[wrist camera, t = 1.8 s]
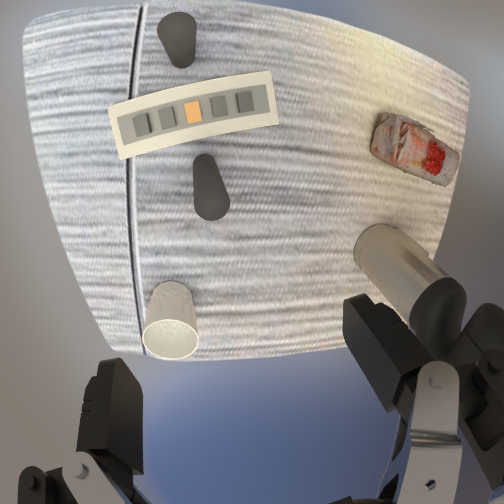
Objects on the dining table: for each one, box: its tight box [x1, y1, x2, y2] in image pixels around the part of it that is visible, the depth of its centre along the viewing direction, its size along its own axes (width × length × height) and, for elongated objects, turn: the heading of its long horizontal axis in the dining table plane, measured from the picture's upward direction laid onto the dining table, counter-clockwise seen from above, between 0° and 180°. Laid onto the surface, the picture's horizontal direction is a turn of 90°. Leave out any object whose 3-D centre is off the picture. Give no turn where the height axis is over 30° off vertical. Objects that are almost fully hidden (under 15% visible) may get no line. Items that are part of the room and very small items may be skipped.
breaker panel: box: [107, 71, 279, 160], centre depth 32 cm, size 20×7×5 cm, turn 99°
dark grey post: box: [157, 12, 197, 68], centre depth 24 cm, size 3×3×16 cm
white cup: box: [142, 281, 199, 360], centre depth 43 cm, size 8×8×10 cm
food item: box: [370, 113, 460, 187], centre depth 38 cm, size 14×8×10 cm, turn 77°
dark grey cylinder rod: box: [193, 154, 230, 221], centre depth 32 cm, size 3×3×16 cm
